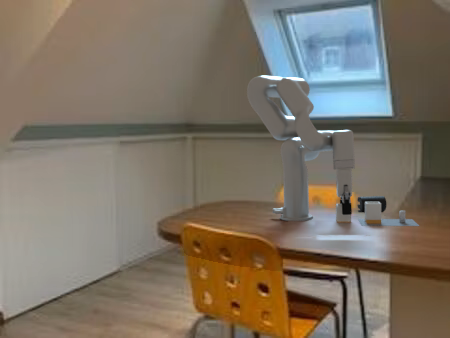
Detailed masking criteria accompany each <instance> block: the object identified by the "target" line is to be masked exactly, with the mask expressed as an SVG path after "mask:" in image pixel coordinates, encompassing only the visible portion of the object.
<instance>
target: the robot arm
mask: <svg viewBox="0 0 450 338" xmlns="http://www.w3.org/2000/svg"><path fill="white" fill-rule="evenodd" d="M310 90H311V89H310V84H309V83H308V81H306V79H304V78H301V77H291V76H289V77H286V76H285V77H283V76H274V75H258V76H255V77H253V78H251V79H250V80H249V82H248V84H247V90H246V96H247V100H248V102H249V104H250V106H251V108H252V110H254V112H255V113H256V114H257V115H258V117H259V119H260V120H261V122H262V123H263V124H264V127H266V129H267V131H268V132H269V133H270V135H271V136H272V137H273V139H275V140H277V141H283V142H282V144H281V146H280V157H281V160H282V161H281V162H282V163H281V164H282V170H283V171H282V172H283V173H282V174H283V176H282V177H283V207H280V208H275V207H274V208H272V214H276V215H277V214H280V215H279V217H280V218H279V219H280V220H282V221H287V222H303V221H311V220H313V218H314V215H313V214H311V213H310V208H309V207H310V205H309V204H310V203H309V201H310V199H309V197H310V195H309V194H310V193H309V191H310V190H309V170H308V169H309V168H308V166H307V164H306V162H308V161H312V160H315V159H317V158H318V157H319V155H320V153H321V152H331V151H332V166H333V167H332V168H333V170H335V171H336V172H335V174H336V176H335V181H336V182H335V183H336V196H337V198H339V204H342V214H343V215H351V216H352V213H353V211H352V209H353V208H352V201H351V197H352V196H353V178H352V177H353V175H352V174H353V173H352V170H354V169H356V164H355V161H356V160H355V138H354V137H355V136H354V132H353V130H350V129H343V130H342V129H341V130H318V129H317V128H316V127H315V126H314V124H313V122H312V121H311V118H310V115H311V113H312V112H313V111H314V107H315V106H314V104H313V102H312V101H311V99H310V98H309V97H308V96H309V94H310ZM271 98H278V99H279V98H280V99H281V100H282V102H283V103H284V105H285V106H286V108H287V109H288V110H289V112H290V114H292V115H291V116H290V115H286V114H285V113H284V112H283V111H282V110H281V109H280V107H279V105H278V104H277V103H276V102H275V101H273V100H272V99H271Z"/></svg>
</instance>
